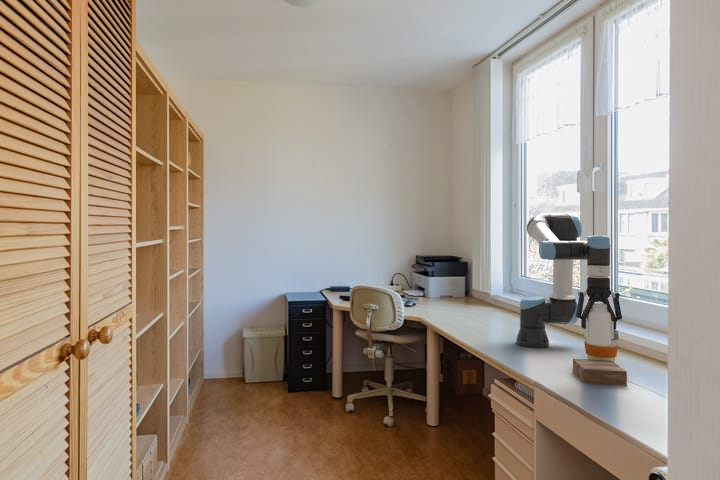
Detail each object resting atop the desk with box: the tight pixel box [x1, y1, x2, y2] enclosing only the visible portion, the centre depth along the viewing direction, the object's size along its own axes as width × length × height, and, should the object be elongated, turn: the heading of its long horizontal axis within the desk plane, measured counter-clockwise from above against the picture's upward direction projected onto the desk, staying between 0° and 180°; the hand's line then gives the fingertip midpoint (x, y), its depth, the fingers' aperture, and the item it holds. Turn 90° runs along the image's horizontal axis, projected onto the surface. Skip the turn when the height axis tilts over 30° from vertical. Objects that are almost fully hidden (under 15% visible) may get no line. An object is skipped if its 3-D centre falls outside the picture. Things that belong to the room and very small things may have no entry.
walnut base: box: [572, 358, 628, 386], centre depth 160 cm, size 14×14×5 cm
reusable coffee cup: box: [583, 329, 620, 363], centre depth 175 cm, size 13×13×15 cm
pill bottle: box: [586, 302, 611, 346], centre depth 160 cm, size 8×8×15 cm
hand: (598, 337), depth 160 cm, fingers closed on pill bottle, 8 cm apart
